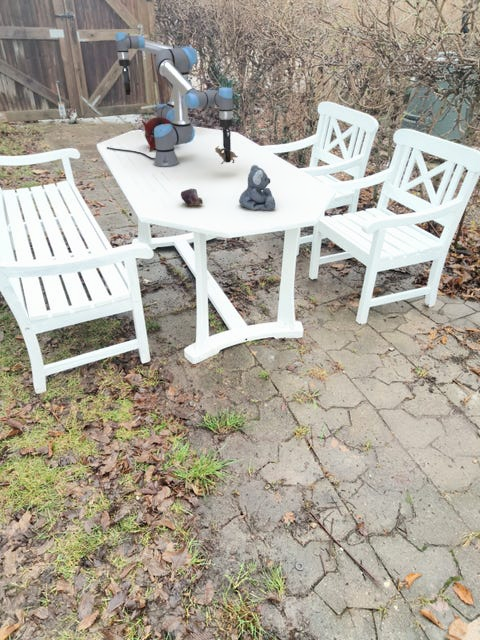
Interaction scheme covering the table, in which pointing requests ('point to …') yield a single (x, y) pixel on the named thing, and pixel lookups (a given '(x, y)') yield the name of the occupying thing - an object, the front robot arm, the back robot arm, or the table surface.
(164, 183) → the table surface
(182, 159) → the table surface
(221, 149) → the dinosaur figurine
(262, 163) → the table surface
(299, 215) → the table surface
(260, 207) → the koala plush
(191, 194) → the rock
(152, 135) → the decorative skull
